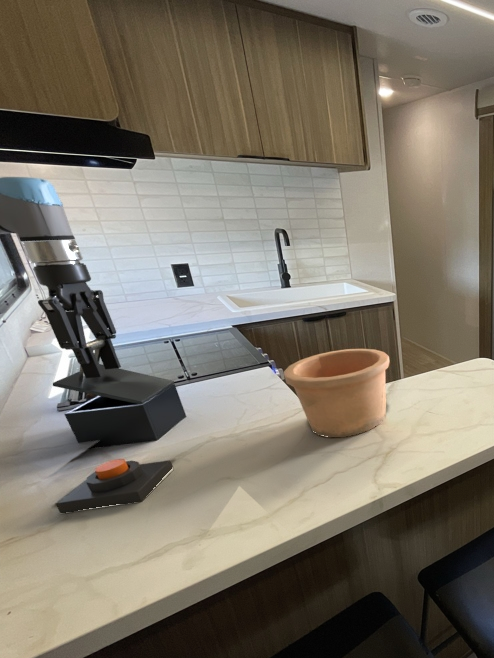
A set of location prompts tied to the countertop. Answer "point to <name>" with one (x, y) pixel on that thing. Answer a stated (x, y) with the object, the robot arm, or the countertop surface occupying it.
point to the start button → (111, 468)
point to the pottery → (341, 390)
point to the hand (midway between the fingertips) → (104, 372)
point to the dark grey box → (126, 419)
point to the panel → (115, 487)
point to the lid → (115, 381)
